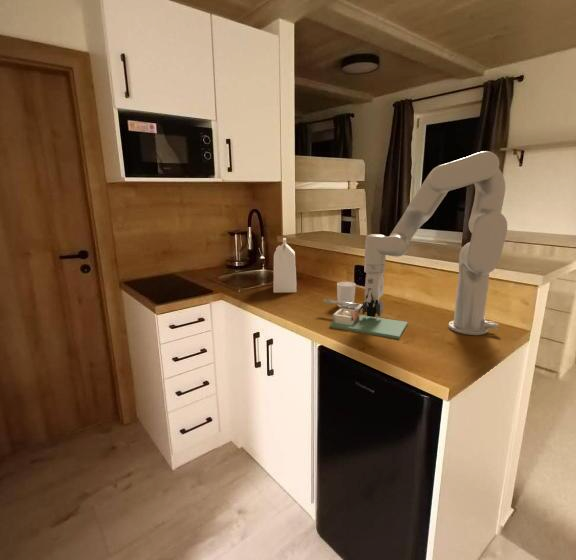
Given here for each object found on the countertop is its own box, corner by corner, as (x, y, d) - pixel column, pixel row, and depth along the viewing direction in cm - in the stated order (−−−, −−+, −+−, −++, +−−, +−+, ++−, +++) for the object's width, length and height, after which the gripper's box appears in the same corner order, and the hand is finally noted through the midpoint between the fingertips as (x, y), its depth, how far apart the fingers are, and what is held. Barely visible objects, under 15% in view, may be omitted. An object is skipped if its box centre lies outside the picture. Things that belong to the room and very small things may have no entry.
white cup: (340, 309, 152) (341, 287, 149) (333, 304, 159) (334, 282, 157) (357, 308, 154) (358, 285, 151) (350, 302, 161) (350, 281, 159)
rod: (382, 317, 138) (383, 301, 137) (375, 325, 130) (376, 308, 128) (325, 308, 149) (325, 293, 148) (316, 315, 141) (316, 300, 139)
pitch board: (407, 324, 134) (408, 313, 133) (399, 339, 121) (400, 326, 120) (343, 314, 146) (343, 304, 144) (330, 327, 133) (330, 315, 132)
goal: (357, 317, 139) (358, 310, 138) (350, 325, 131) (350, 317, 131) (340, 315, 142) (340, 307, 141) (332, 322, 135) (332, 314, 134)
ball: (341, 312, 139) (346, 320, 139) (338, 315, 136) (343, 323, 135) (348, 307, 137) (353, 315, 137) (345, 310, 134) (350, 318, 134)
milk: (296, 292, 178) (296, 240, 172) (273, 292, 179) (272, 240, 172) (296, 286, 190) (296, 237, 184) (274, 286, 190) (273, 237, 184)
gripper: (379, 273, 124) (376, 323, 129) (389, 264, 138) (387, 309, 143) (358, 271, 128) (356, 320, 132) (370, 263, 142) (368, 307, 146)
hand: (372, 314), depth 138 cm, fingers closed on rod, 3 cm apart
